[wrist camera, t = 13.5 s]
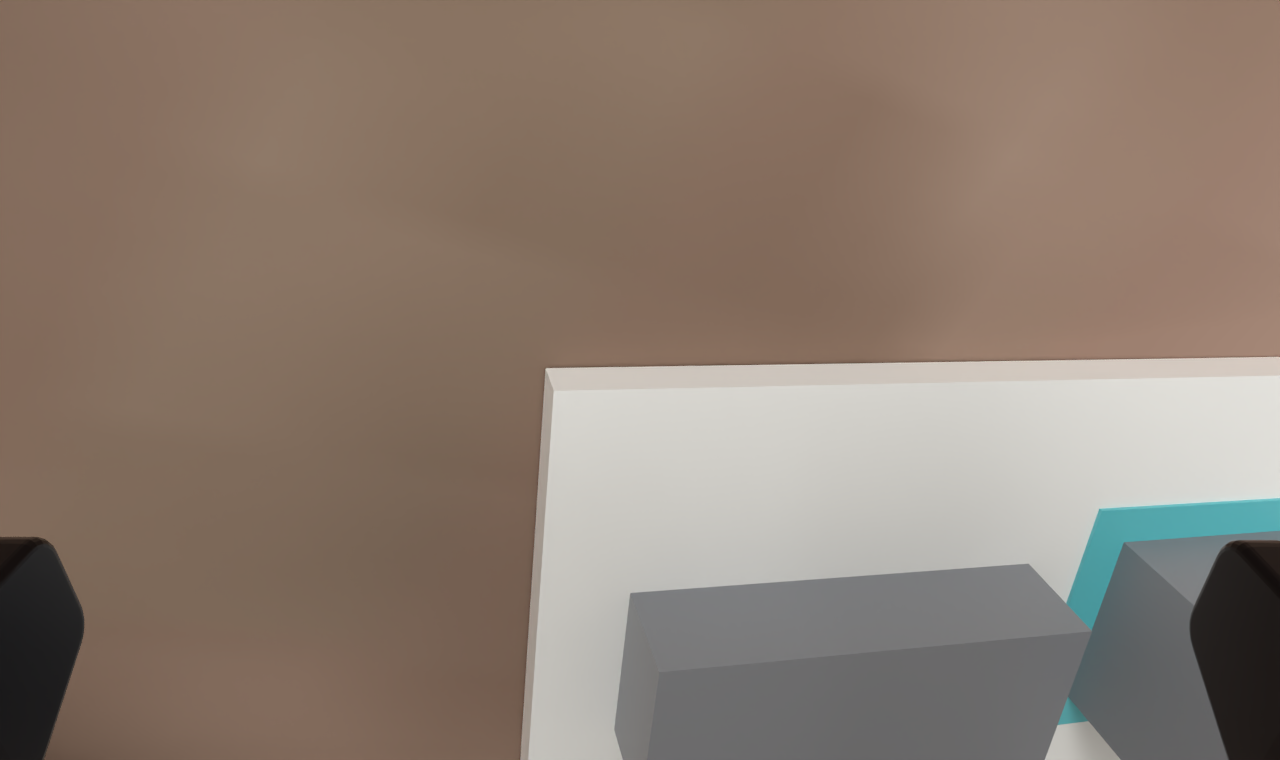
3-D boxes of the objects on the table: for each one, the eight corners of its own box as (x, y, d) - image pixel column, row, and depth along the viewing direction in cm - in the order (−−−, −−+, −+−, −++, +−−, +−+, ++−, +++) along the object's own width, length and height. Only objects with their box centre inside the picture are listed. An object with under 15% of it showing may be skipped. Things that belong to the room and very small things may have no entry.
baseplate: (514, 852, 27) (534, 981, 24) (545, 368, 20) (577, 457, 17) (1211, 757, 32) (1299, 851, 29) (1398, 355, 26) (1534, 420, 23)
